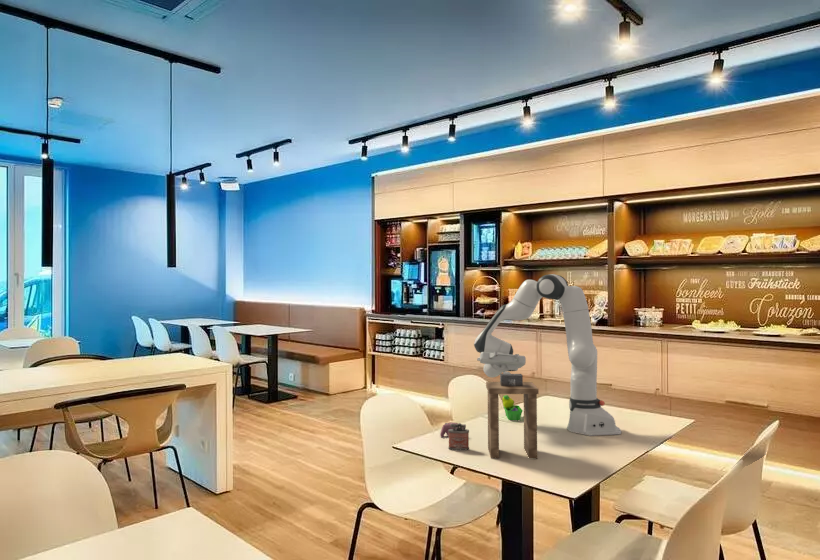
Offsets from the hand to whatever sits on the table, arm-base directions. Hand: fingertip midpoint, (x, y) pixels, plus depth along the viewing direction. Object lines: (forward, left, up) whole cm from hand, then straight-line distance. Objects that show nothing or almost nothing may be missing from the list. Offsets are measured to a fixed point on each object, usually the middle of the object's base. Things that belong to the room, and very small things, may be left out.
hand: (506, 354), depth 235 cm
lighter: (+22, +23, -34) cm, 47 cm away
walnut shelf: (+2, +28, -34) cm, 44 cm away
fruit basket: (-5, -28, -34) cm, 44 cm away
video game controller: (+24, +6, -34) cm, 42 cm away
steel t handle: (+2, +21, -8) cm, 23 cm away
